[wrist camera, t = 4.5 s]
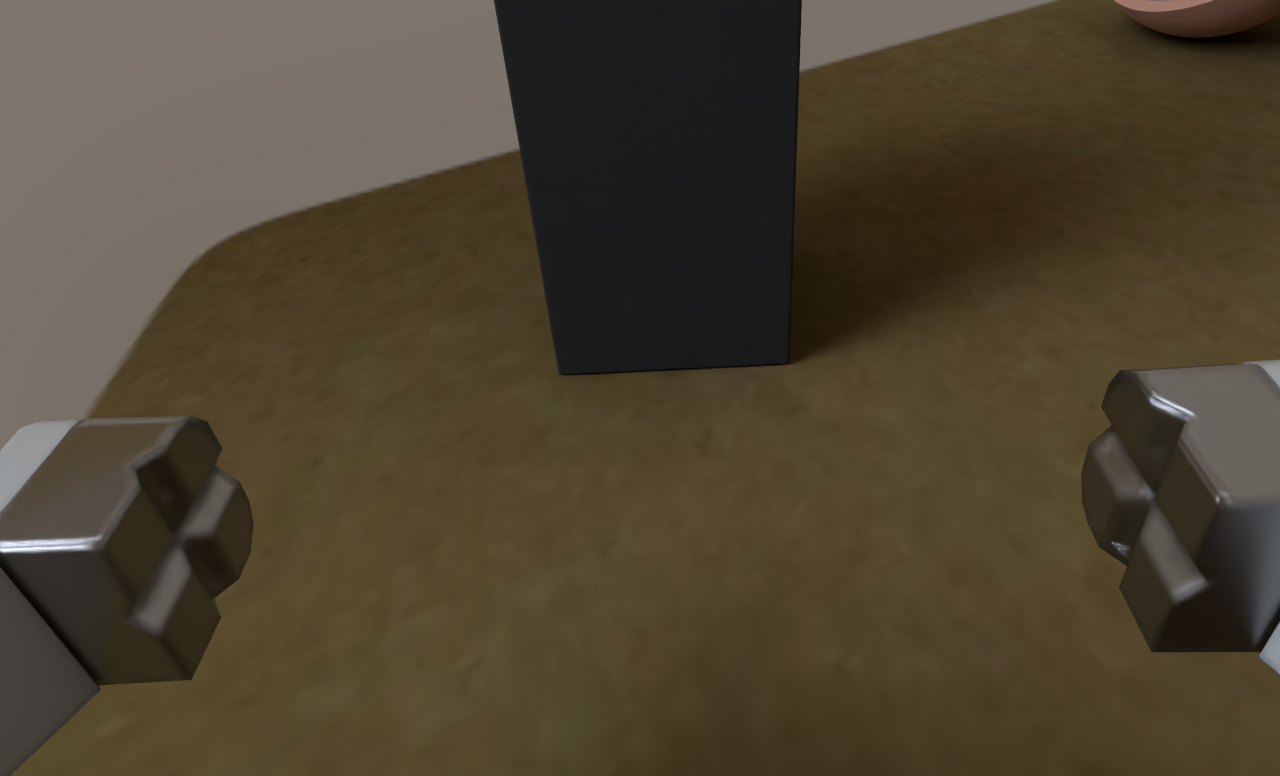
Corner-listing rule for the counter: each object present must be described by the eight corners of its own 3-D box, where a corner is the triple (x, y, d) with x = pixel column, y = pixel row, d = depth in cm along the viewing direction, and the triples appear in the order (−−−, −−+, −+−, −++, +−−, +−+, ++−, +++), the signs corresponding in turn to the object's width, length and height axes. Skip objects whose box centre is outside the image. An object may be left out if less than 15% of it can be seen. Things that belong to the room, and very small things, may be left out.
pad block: (558, 376, 19) (478, -81, 14) (576, 257, 23) (519, -136, 18) (789, 364, 19) (805, -108, 13) (768, 246, 23) (773, -159, 17)
